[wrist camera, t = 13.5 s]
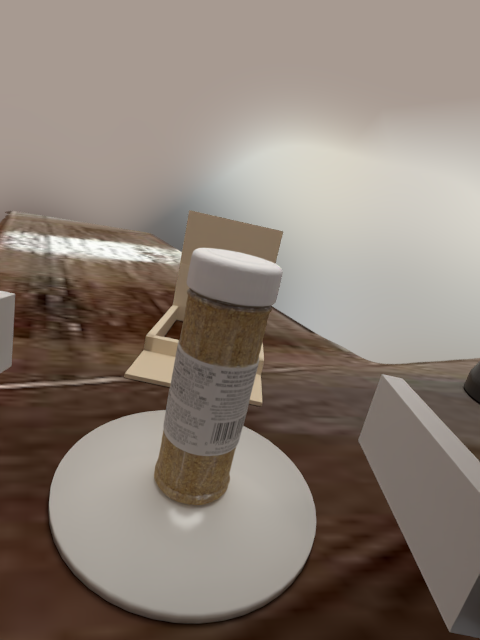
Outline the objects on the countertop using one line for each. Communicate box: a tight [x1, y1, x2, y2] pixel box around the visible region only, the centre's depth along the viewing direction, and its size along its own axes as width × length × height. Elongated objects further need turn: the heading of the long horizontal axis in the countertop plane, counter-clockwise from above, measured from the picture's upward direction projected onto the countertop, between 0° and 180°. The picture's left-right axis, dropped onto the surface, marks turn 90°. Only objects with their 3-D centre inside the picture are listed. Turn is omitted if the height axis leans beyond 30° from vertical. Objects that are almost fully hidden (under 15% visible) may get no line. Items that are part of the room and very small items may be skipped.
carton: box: [124, 211, 283, 406], centre depth 41 cm, size 21×13×15 cm, turn 178°
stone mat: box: [48, 410, 316, 624], centre depth 22 cm, size 15×15×1 cm
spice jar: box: [154, 248, 282, 505], centre depth 20 cm, size 5×5×13 cm
